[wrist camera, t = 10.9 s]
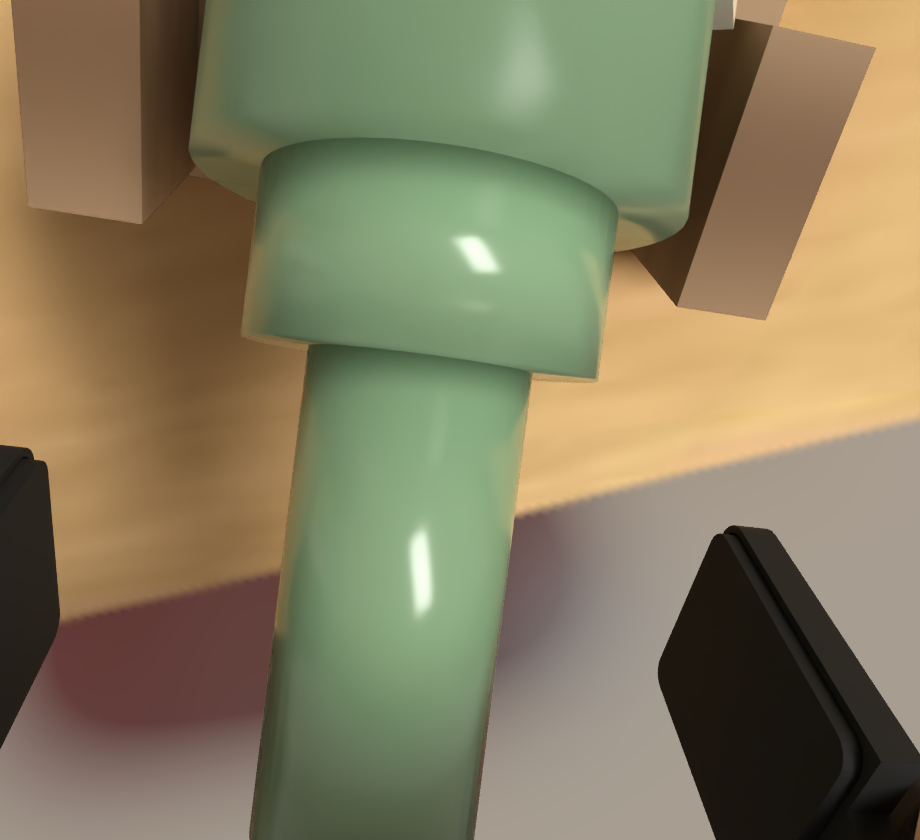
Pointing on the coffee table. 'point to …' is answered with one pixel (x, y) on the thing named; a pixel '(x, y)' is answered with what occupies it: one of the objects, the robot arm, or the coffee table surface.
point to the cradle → (668, 261)
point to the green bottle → (426, 339)
